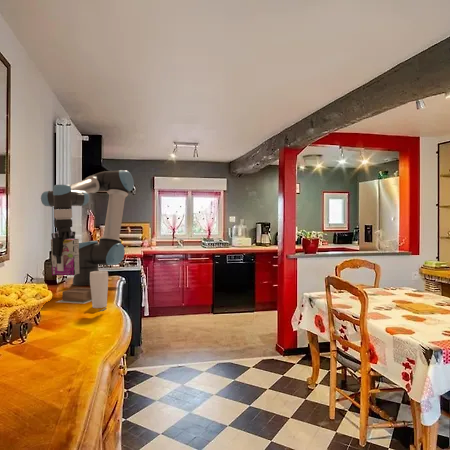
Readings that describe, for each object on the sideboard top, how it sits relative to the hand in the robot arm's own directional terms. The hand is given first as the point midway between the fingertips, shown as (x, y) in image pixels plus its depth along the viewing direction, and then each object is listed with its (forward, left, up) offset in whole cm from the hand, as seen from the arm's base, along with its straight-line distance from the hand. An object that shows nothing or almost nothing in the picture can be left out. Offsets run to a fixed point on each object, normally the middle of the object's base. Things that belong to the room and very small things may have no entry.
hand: (65, 269), depth 176 cm
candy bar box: (0, 0, -3) cm, 3 cm away
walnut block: (+9, +14, -11) cm, 20 cm away
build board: (+9, +14, -13) cm, 21 cm away
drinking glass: (+19, +30, -13) cm, 38 cm away
